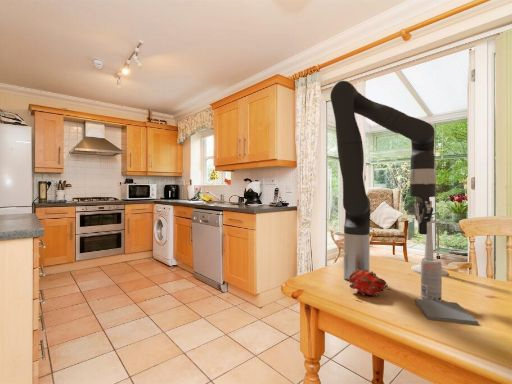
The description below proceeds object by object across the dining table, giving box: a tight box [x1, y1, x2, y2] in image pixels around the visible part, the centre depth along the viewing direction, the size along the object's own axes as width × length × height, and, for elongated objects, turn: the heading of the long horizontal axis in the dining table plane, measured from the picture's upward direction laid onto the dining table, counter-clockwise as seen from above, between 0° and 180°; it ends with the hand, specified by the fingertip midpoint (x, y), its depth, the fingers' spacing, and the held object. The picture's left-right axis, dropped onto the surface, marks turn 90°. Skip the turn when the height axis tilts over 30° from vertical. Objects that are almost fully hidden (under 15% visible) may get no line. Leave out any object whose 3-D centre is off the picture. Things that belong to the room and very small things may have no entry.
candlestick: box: [410, 200, 448, 277], centre depth 113 cm, size 13×13×30 cm
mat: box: [414, 298, 479, 325], centre depth 75 cm, size 11×12×1 cm
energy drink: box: [420, 257, 443, 301], centre depth 84 cm, size 5×5×12 cm
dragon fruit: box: [347, 269, 389, 297], centre depth 88 cm, size 8×8×12 cm
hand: (422, 234), depth 92 cm, fingers closed
